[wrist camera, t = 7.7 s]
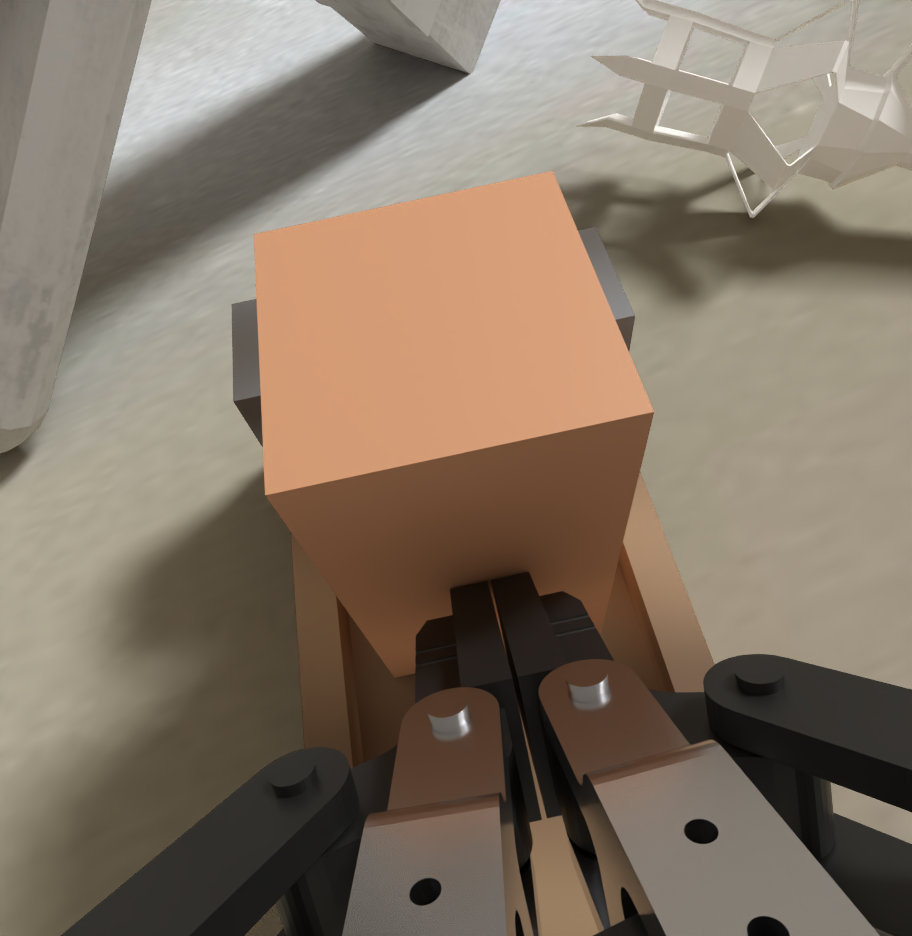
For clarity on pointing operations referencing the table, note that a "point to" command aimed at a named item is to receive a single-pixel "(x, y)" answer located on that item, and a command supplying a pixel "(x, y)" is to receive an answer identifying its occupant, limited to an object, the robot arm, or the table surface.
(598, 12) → the table surface
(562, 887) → the rail
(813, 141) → the beige openwork piece
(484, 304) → the orange rectangular block
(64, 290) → the leaning slabs
